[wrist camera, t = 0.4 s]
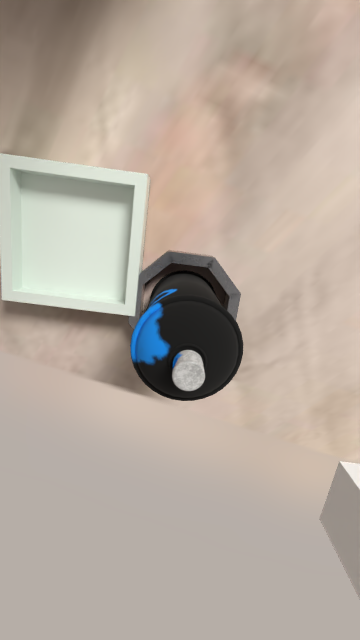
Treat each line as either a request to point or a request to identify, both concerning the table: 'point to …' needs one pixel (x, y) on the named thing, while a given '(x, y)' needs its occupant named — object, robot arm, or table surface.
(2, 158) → the tray
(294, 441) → the table surface
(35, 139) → the table surface
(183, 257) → the collar
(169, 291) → the aerosol can
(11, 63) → the table surface
